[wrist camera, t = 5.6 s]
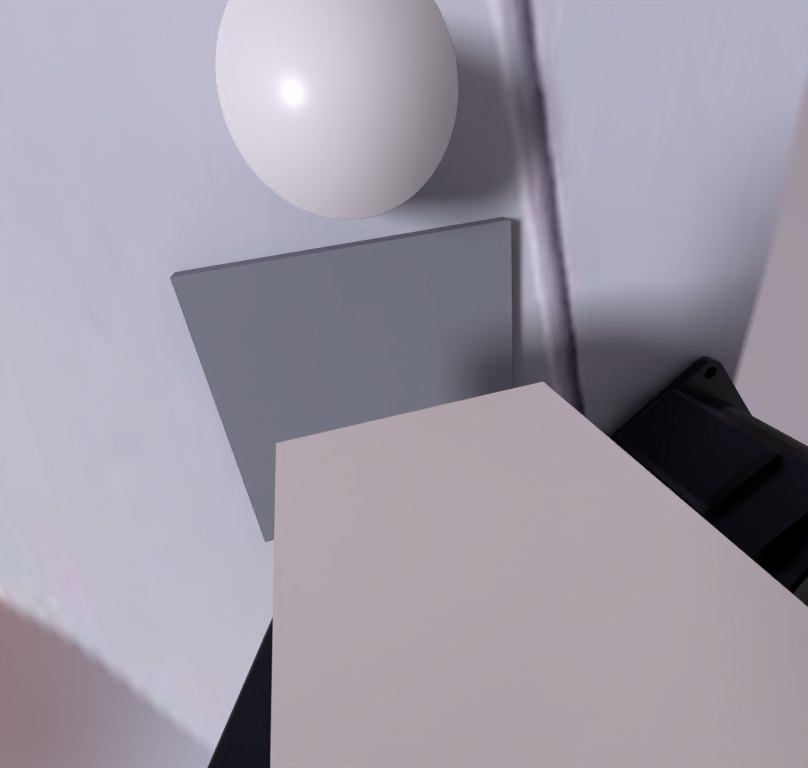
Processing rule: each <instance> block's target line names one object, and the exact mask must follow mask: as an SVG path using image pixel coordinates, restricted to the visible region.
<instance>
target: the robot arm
mask: <svg viewBox="0 0 808 768" xmlns="http://www.w3.org/2000/svg"><path fill="white" fill-rule="evenodd" d="M609 438H610V439H611V440H612V441H614V442H615V443H616V444H617V445H618V446H619V447H621V448H622V449H623V450H624V451H625V452H626V453H628V454H629V455H630V456H631V457H632V458H634V459H635V460H636V461H637V462H638V463H639V464H641V465H642V466H643V467H644V468H645V469H646V470H648V471H649V472H650V473H651V474H652V475H653V476H655V477H656V478H657V479H658V480H659V481H661V482H662V483H663V484H664V485H665V486H666V487H668V488H669V489H670V490H671V491H672V492H673V493H675V494H676V495H677V496H678V497H679V498H680V499H682V500H683V501H684V502H685V503H686V504H688V505H689V506H690V507H691V508H692V509H693V510H695V511H696V512H697V513H698V514H699V515H700V516H702V517H703V518H704V519H705V520H706V521H707V522H709V523H710V524H711V525H712V526H713V527H715V528H716V529H717V530H718V531H719V532H720V533H722V534H723V535H724V536H725V537H726V538H727V539H729V540H730V541H731V542H732V543H733V544H734V545H736V546H737V547H738V548H739V549H740V550H742V551H743V552H744V553H745V554H746V555H747V556H749V557H750V558H751V559H752V560H753V561H754V562H756V563H757V564H758V565H759V566H760V567H761V568H763V569H764V570H765V571H766V572H767V573H769V574H770V575H771V576H772V577H773V578H774V579H776V580H777V581H778V582H779V583H780V584H781V585H783V586H784V587H785V588H786V589H787V590H788V591H790V592H791V593H792V594H793V595H794V596H796V597H797V598H798V599H799V600H800V601H801V602H803V603H804V604H805V605H806V606H807V607H808V446H806V445H804V444H802V443H801V442H799V441H797V440H795V439H793V438H792V437H790V436H788V435H786V434H784V433H782V432H780V431H779V430H777V429H775V428H773V427H771V426H769V425H768V424H766V423H764V422H762V421H760V420H759V419H757V418H755V417H753V416H752V415H751V414H750V412H749V410H748V408H747V407H746V405H745V403H744V402H743V400H742V398H741V397H740V395H739V393H738V391H737V390H736V388H735V386H734V385H733V383H732V381H731V379H730V378H729V376H728V374H727V373H726V371H725V369H724V367H723V366H722V364H721V363H720V362H719V361H717V360H715V359H713V358H711V357H702V358H700V359H699V360H697V361H696V362H695V363H694V364H692V365H691V366H690V367H689V368H688V369H687V370H686V371H684V372H683V373H682V374H681V375H680V376H679V377H678V378H677V379H675V380H674V381H673V382H672V383H671V384H670V385H669V386H667V387H666V388H665V389H664V390H663V391H662V392H661V393H659V394H658V395H657V396H656V397H655V398H654V399H653V400H652V401H650V402H649V403H648V404H647V405H646V406H645V407H644V408H642V409H641V410H640V411H639V412H638V413H637V414H636V415H634V416H633V417H632V418H631V419H630V420H629V421H628V422H627V423H625V424H624V425H623V426H622V427H621V428H620V429H619V430H617V431H616V432H615V433H614V434H613V435H612V436H611V437H609ZM272 640H273V618H272V620H271V622H270V624H269V627H268V629H267V631H266V634H265V636H264V638H263V641H262V643H261V645H260V648H259V650H258V652H257V654H256V657H255V659H254V661H253V664H252V666H251V668H250V671H249V673H248V675H247V678H246V680H245V682H244V685H243V687H242V689H241V691H240V694H239V696H238V698H237V701H236V703H235V705H234V708H233V710H232V712H231V715H230V717H229V719H228V722H227V724H226V726H225V728H224V731H223V733H222V735H221V738H220V740H219V742H218V745H217V747H216V749H215V752H214V754H213V756H212V759H211V761H210V763H209V766H208V768H270V755H271V698H272Z"/></svg>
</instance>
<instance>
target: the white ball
mask: <svg viewBox="0 0 808 768" xmlns="http://www.w3.org/2000/svg"><path fill="white" fill-rule="evenodd" d="M215 67H216V81H217V89H218V95H219V100H220V105H221V108H222V112H223V115H224V118H225V121H226V124H227V127H228V129H229V131H230V134H231V136H232V138H233V140H234V142H235V144H236V146H237V148H238V149H239V151H240V153H241V155H242V156H243V158H244V159H245V161H246V162H247V163H248V165H249V166H250V167H251V169H252V170H253V172H254V173H255V174H256V175H257V176H258V177H259V178H260V179H261V180H262V181H263V182H264V183H265V184H266V185H267V186H268V187H269V188H270V189H271V190H273V191H274V192H275V193H276V194H277V195H278V196H280V197H281V198H283V199H284V200H286V201H288V202H289V203H291V204H292V205H294V206H296V207H298V208H300V209H302V210H304V211H307V212H309V213H312V214H315V215H318V216H322V217H327V218H332V219H343V220H353V219H364V218H368V217H373V216H377V215H379V214H382V213H385V212H388V211H390V210H392V209H394V208H395V207H397V206H399V205H401V204H402V203H404V202H405V201H407V200H408V199H409V198H411V197H412V196H413V195H414V194H415V193H416V192H418V191H419V190H420V189H421V188H422V187H423V186H424V185H425V183H426V182H427V181H428V180H429V178H430V177H431V176H432V175H433V173H434V172H435V170H436V168H437V167H438V165H439V164H440V162H441V160H442V158H443V156H444V154H445V152H446V150H447V147H448V144H449V142H450V139H451V136H452V133H453V129H454V124H455V120H456V114H457V106H458V72H457V63H456V58H455V53H454V48H453V44H452V41H451V38H450V35H449V31H448V28H447V26H446V24H445V21H444V19H443V17H442V14H441V12H440V10H439V8H438V7H437V5H436V3H435V1H434V0H229V1H228V3H227V5H226V7H225V11H224V14H223V17H222V20H221V24H220V27H219V33H218V39H217V45H216V63H215Z"/></svg>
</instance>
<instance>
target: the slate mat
mask: <svg viewBox="0 0 808 768" xmlns="http://www.w3.org/2000/svg"><path fill="white" fill-rule="evenodd" d="M170 278H171V281H172V284H173V287H174V290H175V292H176V295H177V298H178V301H179V303H180V306H181V309H182V312H183V315H184V317H185V320H186V323H187V326H188V329H189V331H190V334H191V337H192V340H193V342H194V345H195V348H196V351H197V354H198V356H199V359H200V362H201V365H202V367H203V370H204V373H205V376H206V379H207V381H208V384H209V387H210V390H211V392H212V395H213V398H214V401H215V404H216V406H217V409H218V412H219V415H220V418H221V420H222V423H223V426H224V429H225V431H226V434H227V437H228V440H229V443H230V445H231V448H232V451H233V454H234V456H235V459H236V462H237V465H238V468H239V470H240V473H241V476H242V479H243V482H244V484H245V487H246V490H247V493H248V495H249V498H250V501H251V504H252V507H253V509H254V512H255V515H256V518H257V520H258V523H259V526H260V529H261V532H262V534H263V537H264V540H265V542H267V541H271V540H274V526H275V469H276V443H279V442H283V441H287V440H292V439H296V438H300V437H305V436H309V435H313V434H318V433H322V432H326V431H331V430H335V429H339V428H344V427H348V426H352V425H357V424H361V423H365V422H370V421H374V420H378V419H383V418H387V417H392V416H396V415H400V414H405V413H409V412H413V411H418V410H422V409H426V408H431V407H435V406H439V405H444V404H448V403H452V402H457V401H461V400H465V399H470V398H474V397H478V396H483V395H487V394H491V393H496V392H500V391H504V390H509V389H513V348H512V256H511V220H510V219H507V218H503V217H500V218H494V219H489V220H483V221H477V222H471V223H465V224H459V225H453V226H447V227H441V228H435V229H429V230H423V231H417V232H411V233H406V234H400V235H394V236H388V237H382V238H376V239H370V240H364V241H358V242H352V243H346V244H340V245H334V246H328V247H322V248H317V249H311V250H305V251H299V252H293V253H287V254H281V255H275V256H269V257H263V258H257V259H251V260H245V261H239V262H234V263H228V264H222V265H216V266H210V267H204V268H198V269H192V270H186V271H180V272H175V273H174V274H173V275H172V276H171V277H170Z"/></svg>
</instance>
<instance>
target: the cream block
mask: <svg viewBox="0 0 808 768" xmlns="http://www.w3.org/2000/svg"><path fill="white" fill-rule="evenodd" d="M270 768H808V607H807V606H806V605H805V604H804V603H803V602H801V601H800V600H799V599H798V598H797V597H796V596H794V595H793V594H792V593H791V592H790V591H788V590H787V589H786V588H785V587H784V586H783V585H781V584H780V583H779V582H778V581H777V580H776V579H774V578H773V577H772V576H771V575H770V574H769V573H767V572H766V571H765V570H764V569H763V568H761V567H760V566H759V565H758V564H757V563H756V562H754V561H753V560H752V559H751V558H750V557H749V556H747V555H746V554H745V553H744V552H743V551H742V550H740V549H739V548H738V547H737V546H736V545H734V544H733V543H732V542H731V541H730V540H729V539H727V538H726V537H725V536H724V535H723V534H722V533H720V532H719V531H718V530H717V529H716V528H715V527H713V526H712V525H711V524H710V523H709V522H707V521H706V520H705V519H704V518H703V517H702V516H700V515H699V514H698V513H697V512H696V511H695V510H693V509H692V508H691V507H690V506H689V505H688V504H686V503H685V502H684V501H683V500H682V499H680V498H679V497H678V496H677V495H676V494H675V493H673V492H672V491H671V490H670V489H669V488H668V487H666V486H665V485H664V484H663V483H662V482H661V481H659V480H658V479H657V478H656V477H655V476H653V475H652V474H651V473H650V472H649V471H648V470H646V469H645V468H644V467H643V466H642V465H641V464H639V463H638V462H637V461H636V460H635V459H634V458H632V457H631V456H630V455H629V454H628V453H626V452H625V451H624V450H623V449H622V448H621V447H619V446H618V445H617V444H616V443H615V442H614V441H612V440H611V439H610V438H609V437H608V436H606V435H605V434H604V433H603V432H602V431H601V430H599V429H598V428H597V427H596V426H595V425H594V424H592V423H591V422H590V421H589V420H588V419H587V418H585V417H584V416H583V415H582V414H581V413H579V412H578V411H577V410H576V409H575V408H574V407H572V406H571V405H570V404H569V403H568V402H567V401H565V400H564V399H563V398H562V397H561V396H560V395H558V394H557V393H556V392H555V391H554V390H552V389H551V388H550V387H549V386H548V385H547V384H545V383H544V382H539V383H535V384H530V385H526V386H522V387H517V388H513V389H509V390H504V391H500V392H496V393H491V394H487V395H483V396H478V397H474V398H470V399H465V400H461V401H457V402H452V403H448V404H444V405H439V406H435V407H431V408H426V409H422V410H418V411H413V412H409V413H405V414H400V415H396V416H392V417H387V418H383V419H378V420H374V421H370V422H365V423H361V424H357V425H352V426H348V427H344V428H339V429H335V430H331V431H326V432H322V433H318V434H313V435H309V436H305V437H300V438H296V439H292V440H287V441H283V442H279V443H276V469H275V526H274V583H273V640H272V698H271V755H270Z"/></svg>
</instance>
